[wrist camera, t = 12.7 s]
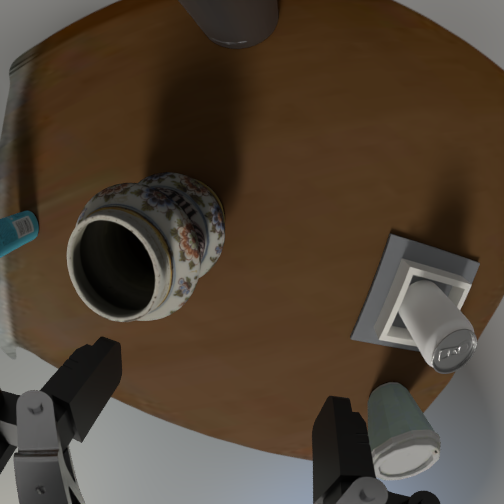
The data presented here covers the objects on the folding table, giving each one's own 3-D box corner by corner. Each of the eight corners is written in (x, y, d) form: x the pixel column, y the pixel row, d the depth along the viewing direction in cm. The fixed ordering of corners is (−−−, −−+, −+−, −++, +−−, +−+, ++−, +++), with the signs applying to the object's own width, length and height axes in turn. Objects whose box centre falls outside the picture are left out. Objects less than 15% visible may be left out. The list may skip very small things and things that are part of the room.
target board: (389, 233, 35) (399, 241, 32) (477, 261, 35) (490, 271, 31) (350, 336, 40) (354, 351, 37) (435, 351, 40) (444, 365, 36)
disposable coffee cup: (370, 424, 45) (383, 493, 31) (342, 392, 43) (354, 469, 29) (424, 395, 42) (450, 461, 28) (403, 358, 41) (434, 431, 26)
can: (438, 316, 37) (475, 367, 26) (396, 326, 38) (425, 383, 27) (439, 274, 35) (484, 318, 24) (396, 284, 37) (430, 334, 25)
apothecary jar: (132, 181, 37) (33, 209, 20) (222, 159, 35) (162, 167, 18) (155, 270, 40) (80, 344, 23) (242, 257, 38) (207, 341, 21)
